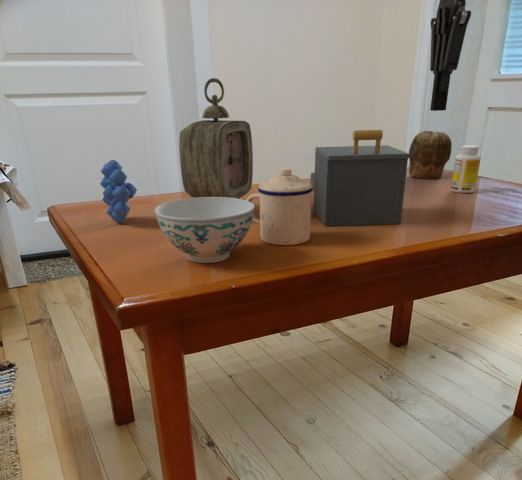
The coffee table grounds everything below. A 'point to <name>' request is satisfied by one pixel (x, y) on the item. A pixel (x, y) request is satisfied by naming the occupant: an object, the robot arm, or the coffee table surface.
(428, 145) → the brown rounded lump
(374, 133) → the chest lid
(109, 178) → the grapes
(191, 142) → the tabletop clock
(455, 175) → the supplement bottle
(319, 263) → the coffee table surface
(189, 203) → the chinaware
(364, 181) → the chest
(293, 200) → the teacup with lid
